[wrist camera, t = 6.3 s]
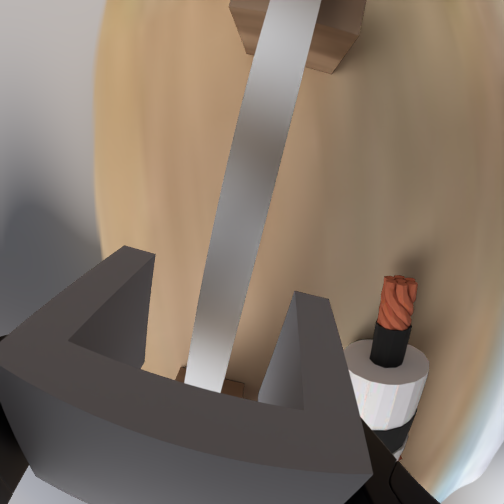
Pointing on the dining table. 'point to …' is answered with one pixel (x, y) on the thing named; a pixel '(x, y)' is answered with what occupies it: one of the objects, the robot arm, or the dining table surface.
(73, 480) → the grey u-channel block
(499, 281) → the dining table surface
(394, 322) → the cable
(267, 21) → the arch bridge
